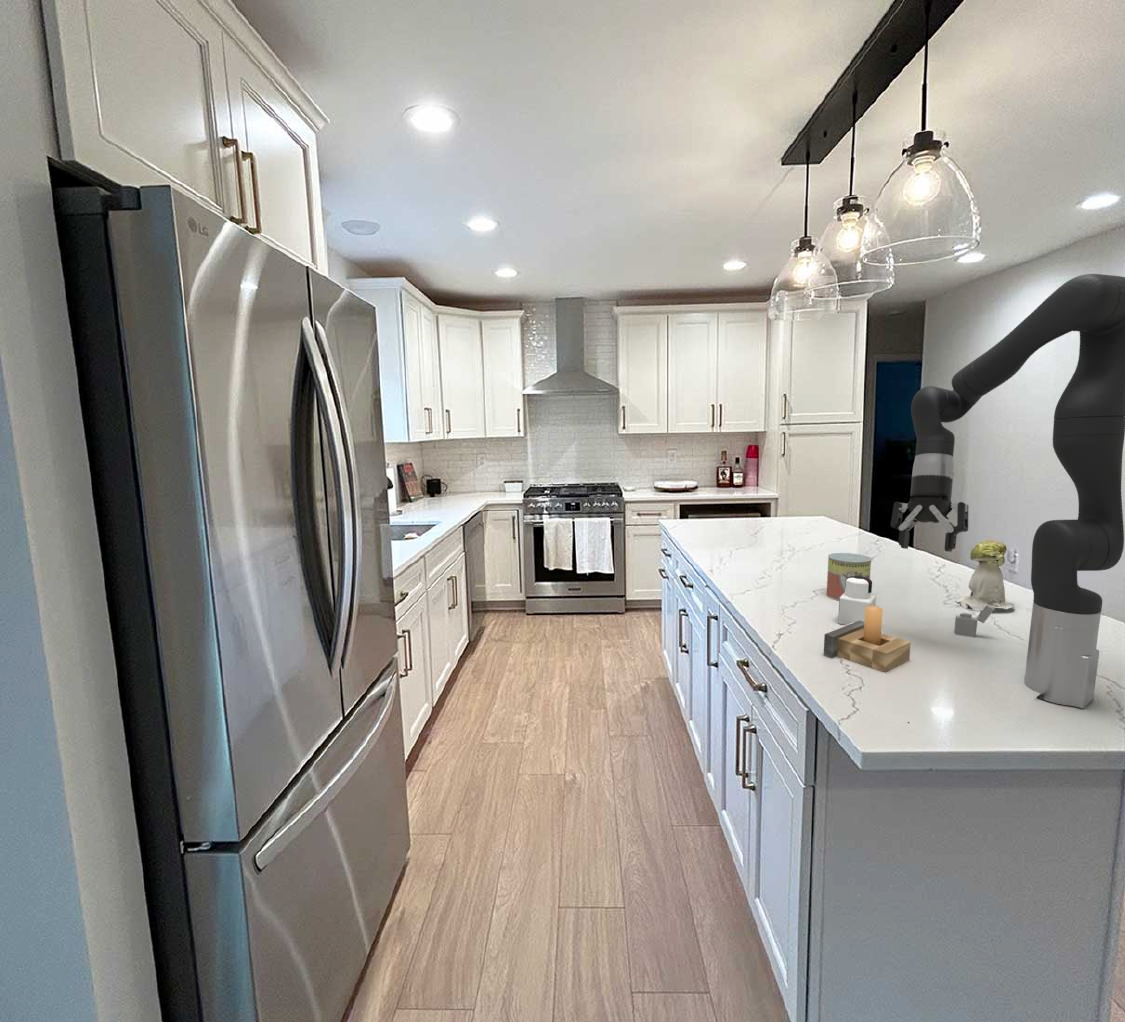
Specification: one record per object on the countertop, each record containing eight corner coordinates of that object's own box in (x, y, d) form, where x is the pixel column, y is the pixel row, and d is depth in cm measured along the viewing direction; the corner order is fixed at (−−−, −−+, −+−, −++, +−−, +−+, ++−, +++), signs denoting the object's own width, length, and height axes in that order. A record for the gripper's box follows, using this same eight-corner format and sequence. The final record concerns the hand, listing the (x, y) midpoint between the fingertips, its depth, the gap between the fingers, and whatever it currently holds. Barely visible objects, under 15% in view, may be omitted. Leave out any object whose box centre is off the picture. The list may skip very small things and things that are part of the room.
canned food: (830, 601, 159) (833, 561, 158) (822, 590, 170) (824, 552, 168) (874, 603, 157) (876, 562, 155) (862, 592, 168) (865, 553, 166)
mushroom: (1027, 613, 146) (1034, 545, 144) (979, 614, 146) (985, 546, 143) (991, 599, 158) (997, 536, 155) (947, 600, 158) (952, 537, 155)
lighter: (954, 634, 133) (957, 602, 132) (954, 632, 135) (956, 600, 134) (991, 639, 130) (994, 606, 128) (990, 637, 131) (993, 604, 130)
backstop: (950, 674, 113) (952, 646, 112) (917, 694, 105) (919, 664, 104) (853, 643, 129) (855, 619, 128) (818, 658, 121) (820, 632, 120)
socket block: (909, 659, 117) (910, 641, 116) (885, 672, 112) (886, 653, 111) (862, 645, 125) (863, 628, 125) (837, 655, 120) (838, 638, 119)
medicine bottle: (844, 616, 147) (846, 572, 146) (874, 621, 143) (877, 576, 141) (837, 623, 142) (840, 578, 140) (868, 629, 137) (871, 583, 136)
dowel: (882, 653, 118) (885, 608, 117) (874, 657, 116) (877, 611, 115) (867, 648, 121) (870, 604, 119) (859, 652, 119) (862, 607, 118)
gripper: (890, 474, 125) (883, 545, 124) (963, 472, 114) (957, 550, 112) (904, 481, 130) (897, 549, 128) (976, 479, 118) (970, 554, 117)
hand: (925, 549), depth 120 cm, fingers open, 8 cm apart
